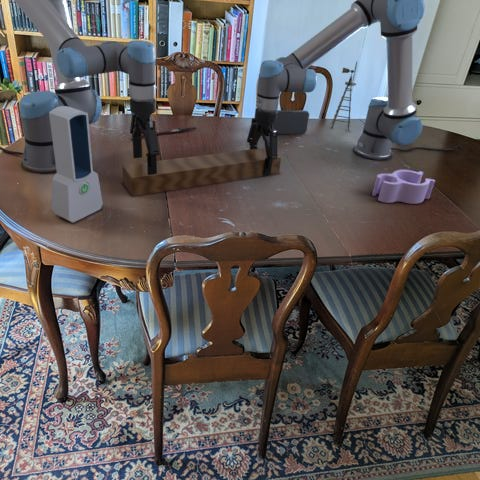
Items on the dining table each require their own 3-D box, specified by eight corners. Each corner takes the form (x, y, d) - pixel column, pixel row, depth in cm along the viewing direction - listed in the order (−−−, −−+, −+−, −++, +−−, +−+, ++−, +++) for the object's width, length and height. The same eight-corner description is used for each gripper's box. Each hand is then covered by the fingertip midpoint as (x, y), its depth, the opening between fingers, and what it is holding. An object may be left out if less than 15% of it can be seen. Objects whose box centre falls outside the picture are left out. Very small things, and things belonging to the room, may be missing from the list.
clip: (385, 206, 156) (390, 187, 152) (365, 189, 166) (370, 171, 162) (433, 201, 162) (440, 184, 158) (412, 185, 172) (417, 168, 168)
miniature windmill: (349, 131, 218) (364, 64, 201) (331, 128, 219) (344, 61, 202) (349, 124, 225) (363, 60, 209) (331, 122, 226) (344, 57, 210)
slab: (132, 196, 146) (131, 178, 143) (123, 182, 153) (122, 165, 150) (278, 173, 171) (281, 157, 167) (264, 162, 178) (266, 147, 174)
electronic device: (70, 224, 129) (57, 118, 113) (51, 215, 132) (36, 111, 116) (103, 208, 138) (96, 107, 122) (85, 200, 141) (76, 101, 125)
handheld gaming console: (303, 131, 211) (307, 109, 206) (306, 133, 209) (310, 111, 204) (256, 132, 204) (259, 110, 199) (258, 135, 202) (261, 112, 197)
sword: (193, 127, 202) (193, 124, 201) (196, 129, 200) (196, 126, 199) (126, 139, 186) (126, 136, 185) (130, 142, 184) (130, 139, 183)
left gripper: (170, 110, 129) (170, 180, 141) (141, 86, 147) (143, 149, 158) (144, 112, 126) (146, 183, 137) (117, 87, 144) (121, 152, 155)
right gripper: (241, 99, 166) (235, 158, 178) (275, 120, 150) (266, 183, 162) (259, 98, 169) (252, 155, 181) (294, 118, 153) (284, 180, 165)
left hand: (144, 165), depth 148 cm, fingers open, 13 cm apart
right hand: (259, 168), depth 171 cm, fingers closed on slab, 10 cm apart
